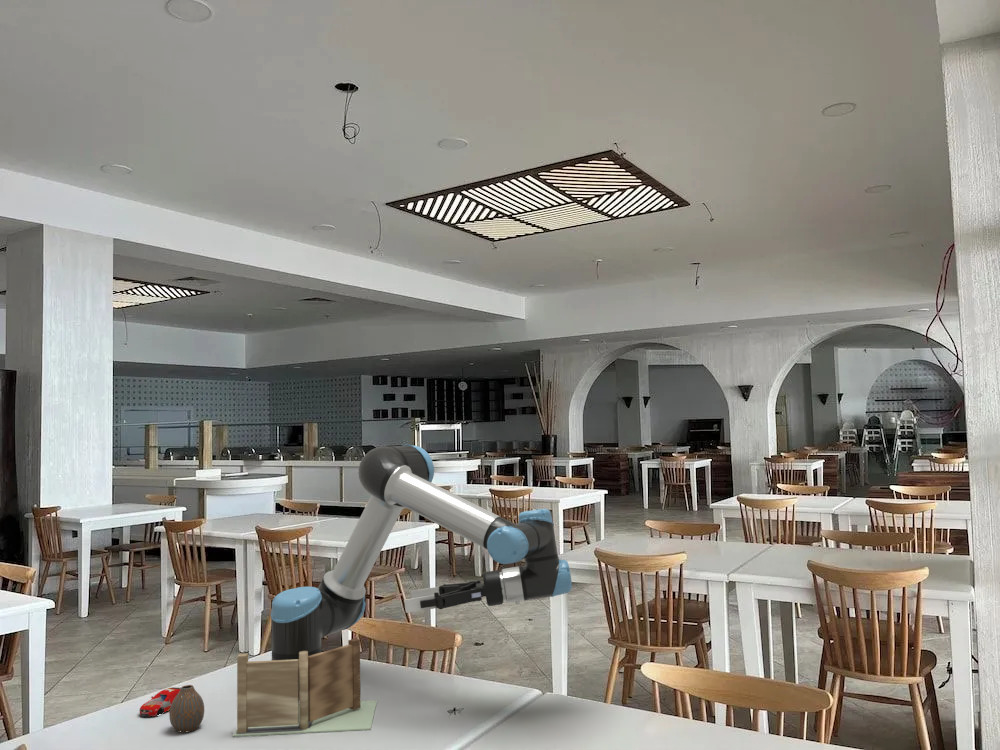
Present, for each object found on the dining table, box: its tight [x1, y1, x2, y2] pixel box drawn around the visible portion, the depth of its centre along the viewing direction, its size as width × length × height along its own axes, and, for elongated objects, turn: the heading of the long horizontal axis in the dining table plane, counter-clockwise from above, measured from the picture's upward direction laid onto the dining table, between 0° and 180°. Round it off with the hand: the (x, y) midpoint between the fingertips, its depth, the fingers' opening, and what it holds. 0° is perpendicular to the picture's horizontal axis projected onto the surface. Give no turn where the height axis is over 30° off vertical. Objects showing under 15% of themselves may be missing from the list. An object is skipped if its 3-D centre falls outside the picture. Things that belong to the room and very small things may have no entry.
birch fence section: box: [236, 651, 308, 733], centre depth 164 cm, size 2×14×16 cm, turn 94°
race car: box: [139, 686, 182, 718], centre depth 179 cm, size 13×5×4 cm, turn 158°
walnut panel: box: [308, 638, 361, 722], centre depth 170 cm, size 13×2×15 cm, turn 140°
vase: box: [168, 684, 205, 733], centre depth 166 cm, size 7×7×9 cm
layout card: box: [232, 699, 378, 738], centre depth 170 cm, size 17×28×1 cm, turn 95°
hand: (408, 601), depth 175 cm, fingers open, 13 cm apart
